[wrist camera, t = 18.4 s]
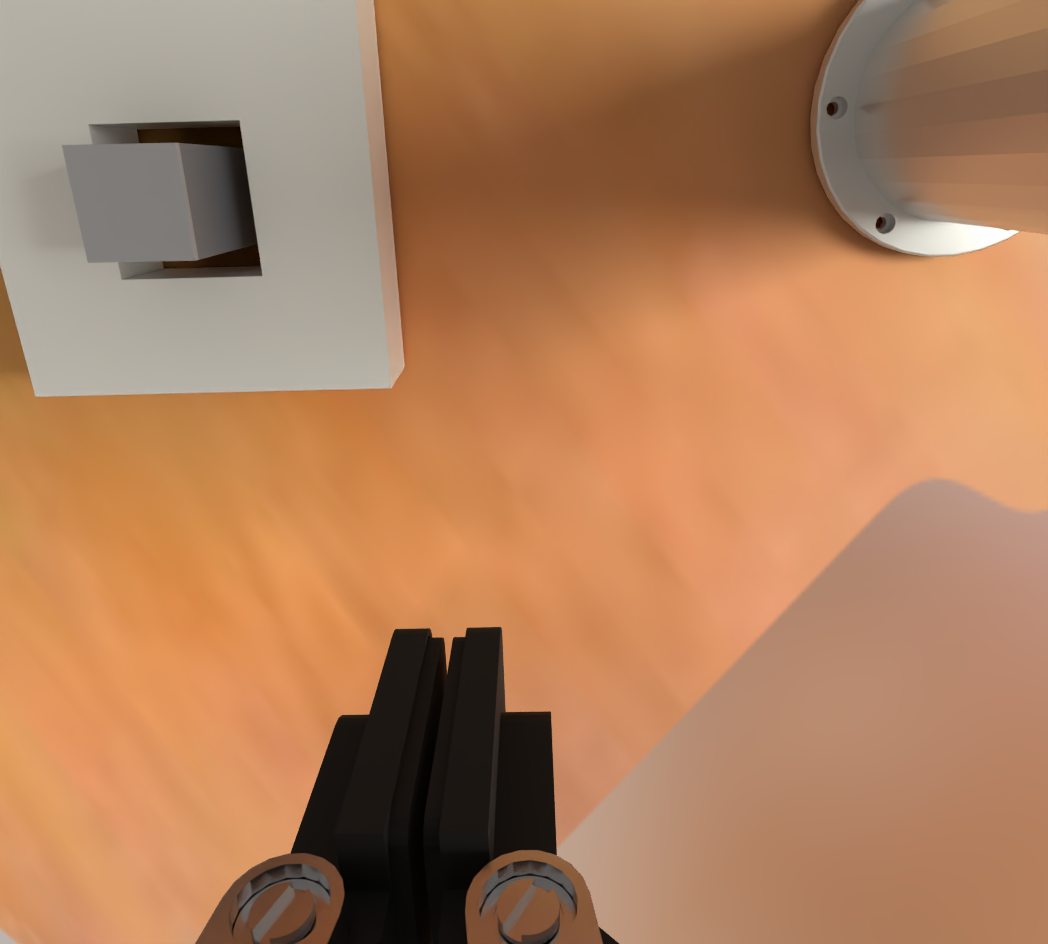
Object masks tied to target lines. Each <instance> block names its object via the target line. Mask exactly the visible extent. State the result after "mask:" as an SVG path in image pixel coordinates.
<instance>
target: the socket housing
mask: <svg viewBox="0 0 1048 944" xmlns="http://www.w3.org/2000/svg"><path fill="white" fill-rule="evenodd" d="M210 127H240V128H241V134H242V141H243V148H244V155H245V161H246V168H247V175H248V182H249V188H250V195H251V202H252V208H253V215H254V222H255V229H256V235H257V242H258V249H259V256H260V262H261V266H248V267H210V268H172V269H164V267H163V262H162V261H153V262H101V263H88V261H87V257H86V252H85V248H84V243H83V239H82V234H81V230H80V225H79V221H78V216H77V212H76V207H75V203H74V198H73V194H72V189H71V185H70V180H69V176H68V171H67V167H66V162H65V158H64V153H63V149H62V145H87V144H134V143H139V139H138V133H137V130H141V129H176V128H210ZM0 267H1V271H2V275H3V278H4V282H5V286H6V289H7V293H8V297H9V300H10V304H11V308H12V312H13V315H14V319H15V323H16V326H17V330H18V334H19V337H20V341H21V345H22V349H23V352H24V356H25V360H26V363H27V367H28V371H29V374H30V378H31V382H32V386H33V389H34V393H35V397H47V396H89V395H131V394H173V393H215V392H257V391H299V390H341V389H383V388H392V386H393V385H394V383H395V382H396V380H397V378H398V377H399V375H400V374H401V372H402V371H403V369H404V367H405V363H404V351H403V339H402V328H401V316H400V304H399V292H398V281H397V269H396V257H395V245H394V234H393V222H392V210H391V198H390V186H389V175H388V163H387V151H386V139H385V128H384V116H383V104H382V92H381V81H380V69H379V57H378V45H377V33H376V22H375V10H374V0H0Z"/></svg>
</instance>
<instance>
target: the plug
mask: <svg viewBox="0 0 1048 944" xmlns="http://www.w3.org/2000/svg"><path fill="white" fill-rule="evenodd" d="M62 149H63V153H64V158H65V162H66V167H67V171H68V176H69V180H70V185H71V189H72V194H73V198H74V203H75V207H76V212H77V216H78V221H79V225H80V230H81V234H82V239H83V243H84V248H85V252H86V257H87V261H88V263H101V262H153V261H196V260H200V259H204V258H207V257H211V256H215V255H218V254H222V253H226V252H230V251H233V250H237V249H241V248H244V247H248V246H252V245H256V244H258V242H257V235H256V229H255V222H254V215H253V208H252V202H251V195H250V188H249V182H248V175H247V168H246V161H245V155H244V148H236V147H223V146H211V145H198V144H186V143H134V144H87V145H62Z"/></svg>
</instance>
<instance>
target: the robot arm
mask: <svg viewBox="0 0 1048 944" xmlns="http://www.w3.org/2000/svg"><path fill="white" fill-rule="evenodd" d="M829 103H832V104H833V105H834V108H835V110H834V113H833V114H832V115H831V116H830V115H828V114H827V109H826V108H827V105H828V104H829ZM810 127H811V149H812V153H813V158H814V162H815V167H816V172H817V175H818V177H819V180H820V182H821V184H822V186H823V189H824V191H825V193H826V195H827V198H828V199H829V201H830V202H831V203H832V205H833V206H834V208H835V209H836V210H837V212H838V213H839V214H840V216H841V217H842V219H843V220H845V221H846V222H847V223H848V224H849V225H850V226H851V227H853V228H854V229H855V230H856V231H857V232H858V233H859V234H860V235H862V236H864V237H866V238H867V239H869V240H871V241H873V242H875V243H877V244H878V245H880V246H882V247H885V248H889V249H892V250H895V251H899V252H902V253H906V254H912V255H919V256H925V257H945V256H957V255H962V254H966V253H971V252H976V251H980V250H983V249H985V248H988V247H990V246H993V245H995V244H998V243H1000V242H1003V241H1005V240H1008V239H1009V238H1011V237H1012V236H1014V235H1016V234H1017V233H1019V232H1021V231H1024V232H1032V233H1040V234H1048V0H858V2H857V3H856V4H855V6H854V7H853V9H852V10H851V11H850V13H849V14H848V15H847V17H846V18H845V20H844V21H843V22H842V24H841V25H840V27H839V28H838V30H837V32H836V34H835V36H834V38H833V40H832V42H831V44H830V46H829V48H828V50H827V52H826V54H825V56H824V59H823V62H822V65H821V69H820V72H819V75H818V78H817V81H816V84H815V88H814V95H813V102H812V109H811V116H810ZM879 217H880V218H881V219H882V224H881V226H879V227H878V228H876V225H875V224H876V221H877V219H878V218H879ZM195 944H619V943H618V942H616V941H615V940H614V939H613V938H612V937H610V936H609V935H608V934H607V933H606V932H604V931H603V930H602V929H601V928H600V927H599V926H598V922H597V918H596V915H595V910H594V907H593V903H592V899H591V895H590V892H589V890H588V887H587V885H586V883H585V881H584V878H583V877H582V876H581V874H580V873H579V872H578V871H577V870H576V869H575V868H574V867H573V866H572V864H570V863H569V862H567V861H565V860H563V859H562V858H560V857H558V856H557V851H556V826H555V802H554V777H553V752H552V728H551V712H505V690H504V666H503V643H502V628H501V627H484V628H467V630H466V637H454V638H453V642H452V648H451V654H450V661H449V667H448V673H447V668H446V655H445V643H444V638H432V633H431V630H430V629H396V630H394V633H393V636H392V639H391V642H390V646H389V649H388V653H387V656H386V659H385V663H384V666H383V670H382V673H381V676H380V680H379V683H378V687H377V690H376V693H375V697H374V700H373V704H372V707H371V710H370V714H369V715H342V716H341V717H339V719H338V721H337V723H336V725H335V728H334V731H333V733H332V736H331V739H330V742H329V745H328V748H327V751H326V753H325V756H324V759H323V762H322V765H321V768H320V771H319V773H318V776H317V779H316V782H315V785H314V788H313V791H312V793H311V796H310V799H309V802H308V805H307V808H306V811H305V813H304V816H303V819H302V822H301V825H300V828H299V831H298V833H297V836H296V839H295V842H294V845H293V848H292V851H291V853H290V854H285V855H282V856H278V857H274V858H270V859H268V860H266V861H264V862H262V863H260V864H258V865H256V866H254V867H252V868H251V869H249V870H248V871H247V872H246V873H245V874H243V875H242V876H241V877H240V878H238V879H237V880H236V881H235V882H234V883H233V884H232V886H231V887H230V888H229V890H228V891H227V892H226V893H225V895H224V896H223V897H222V899H221V901H220V902H219V904H218V906H217V907H216V909H215V911H214V913H213V914H212V916H211V918H210V919H209V921H208V923H207V924H206V926H205V928H204V929H203V931H202V933H201V935H200V936H199V938H198V940H197V941H196V943H195Z"/></svg>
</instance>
